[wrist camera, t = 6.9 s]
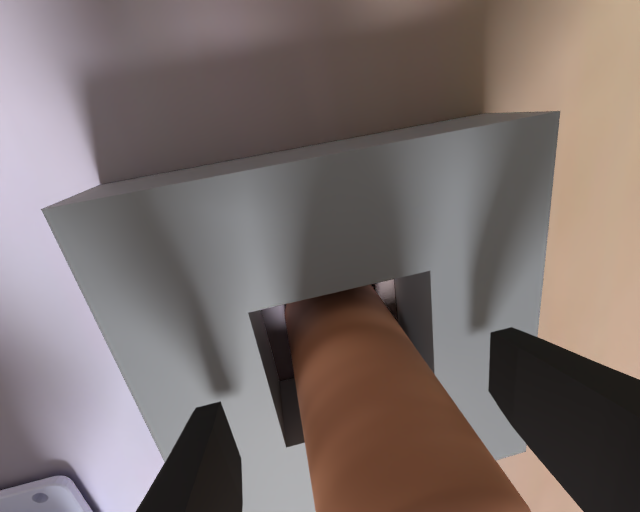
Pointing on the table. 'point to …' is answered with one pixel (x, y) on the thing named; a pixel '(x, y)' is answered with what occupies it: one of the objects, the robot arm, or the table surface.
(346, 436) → the peg
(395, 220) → the socket block
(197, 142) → the table surface
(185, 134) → the table surface
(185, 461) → the robot arm
